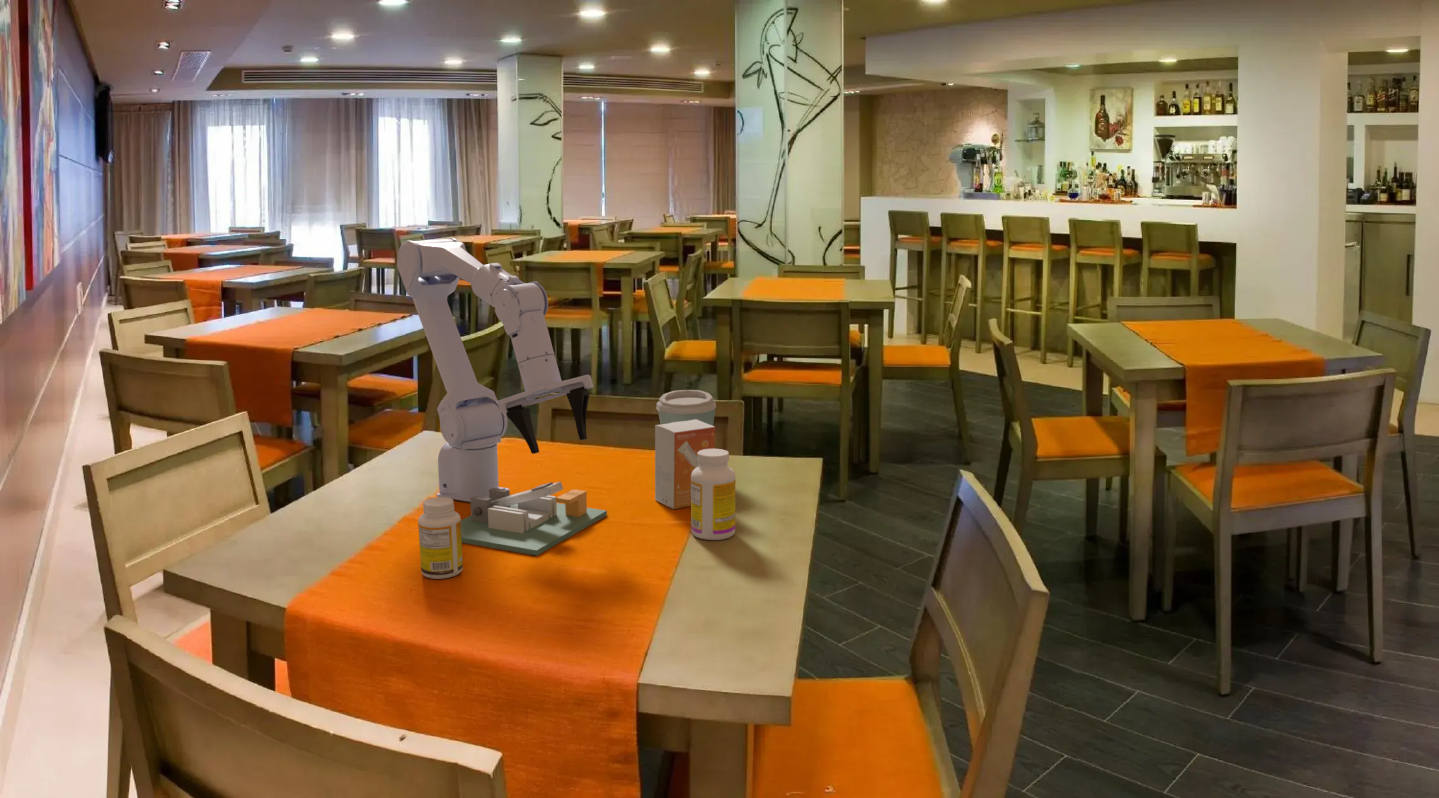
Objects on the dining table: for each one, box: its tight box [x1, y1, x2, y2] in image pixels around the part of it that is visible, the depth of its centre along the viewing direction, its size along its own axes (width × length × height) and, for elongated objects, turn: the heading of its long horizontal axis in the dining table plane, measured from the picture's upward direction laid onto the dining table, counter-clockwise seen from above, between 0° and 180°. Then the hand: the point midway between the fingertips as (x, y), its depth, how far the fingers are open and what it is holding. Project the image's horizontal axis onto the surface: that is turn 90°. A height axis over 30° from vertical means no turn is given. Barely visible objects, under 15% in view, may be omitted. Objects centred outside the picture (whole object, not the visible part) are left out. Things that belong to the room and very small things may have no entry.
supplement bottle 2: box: [690, 448, 736, 541], centre depth 162 cm, size 7×7×13 cm
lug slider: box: [556, 488, 588, 517], centre depth 168 cm, size 2×5×4 cm, turn 156°
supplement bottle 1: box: [417, 496, 464, 580], centre depth 146 cm, size 6×6×10 cm
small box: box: [654, 419, 716, 510], centre depth 178 cm, size 8×6×13 cm
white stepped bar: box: [491, 481, 564, 508], centre depth 165 cm, size 13×3×2 cm, turn 64°
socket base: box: [461, 488, 608, 557], centre depth 166 cm, size 18×20×4 cm
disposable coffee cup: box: [655, 389, 717, 426], centre depth 192 cm, size 11×11×15 cm
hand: (559, 446), depth 164 cm, fingers open, 7 cm apart
